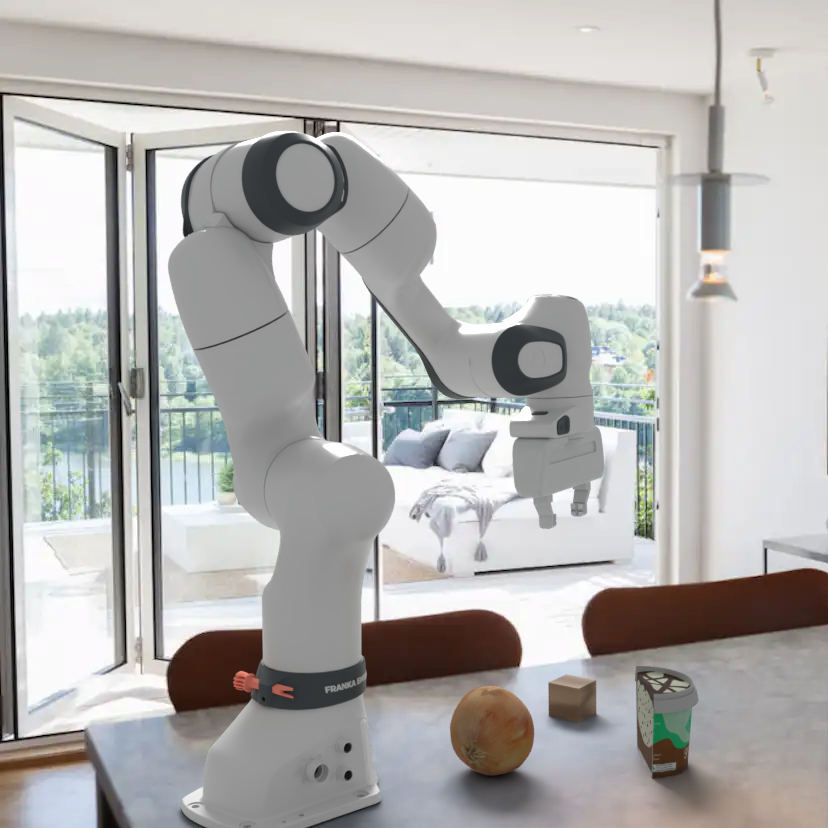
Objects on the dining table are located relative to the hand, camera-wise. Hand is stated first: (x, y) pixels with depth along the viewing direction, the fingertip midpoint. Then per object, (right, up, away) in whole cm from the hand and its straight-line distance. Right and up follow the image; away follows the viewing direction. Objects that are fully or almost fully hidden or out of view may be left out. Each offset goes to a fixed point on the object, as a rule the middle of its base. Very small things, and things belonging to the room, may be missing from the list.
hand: (564, 521), depth 146 cm
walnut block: (+1, -26, +1) cm, 26 cm away
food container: (+10, -27, -17) cm, 33 cm away
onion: (-11, -27, -19) cm, 35 cm away
